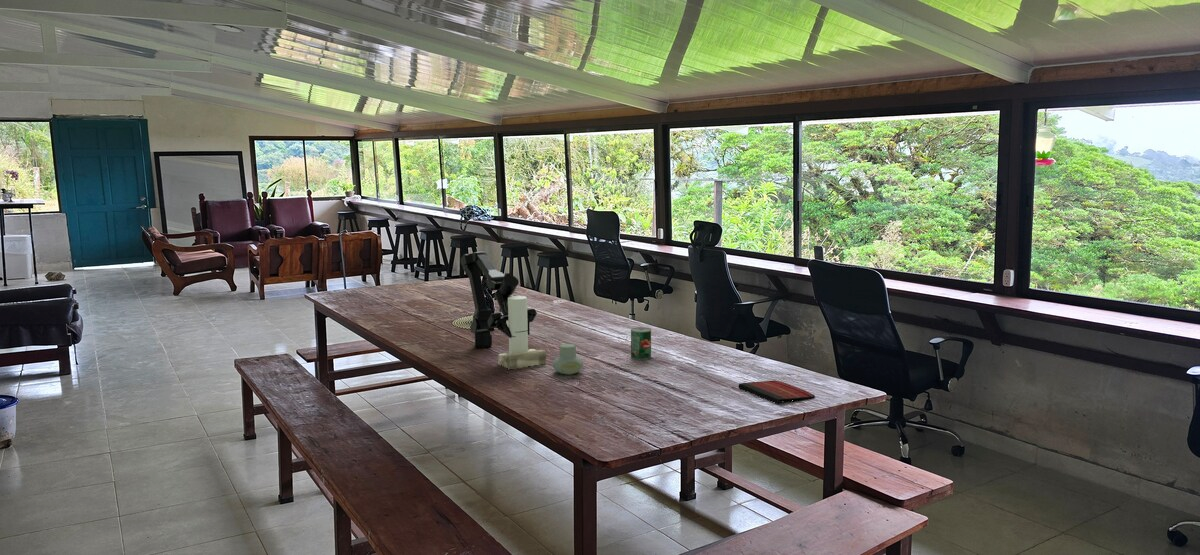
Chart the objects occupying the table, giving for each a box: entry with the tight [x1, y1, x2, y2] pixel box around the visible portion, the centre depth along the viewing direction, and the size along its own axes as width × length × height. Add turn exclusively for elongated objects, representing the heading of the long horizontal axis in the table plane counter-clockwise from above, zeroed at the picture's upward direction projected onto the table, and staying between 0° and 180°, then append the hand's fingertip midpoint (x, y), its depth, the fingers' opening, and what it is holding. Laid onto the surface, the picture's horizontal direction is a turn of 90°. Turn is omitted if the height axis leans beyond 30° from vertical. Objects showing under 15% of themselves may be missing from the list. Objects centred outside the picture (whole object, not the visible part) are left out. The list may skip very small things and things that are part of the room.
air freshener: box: [552, 343, 584, 376], centre depth 295 cm, size 11×8×10 cm
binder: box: [738, 380, 816, 405], centre depth 269 cm, size 16×2×21 cm
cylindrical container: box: [507, 295, 529, 354], centre depth 308 cm, size 7×7×25 cm
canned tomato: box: [630, 326, 652, 360], centre depth 316 cm, size 8×8×11 cm
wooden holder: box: [497, 348, 547, 370], centre depth 308 cm, size 10×15×5 cm, turn 123°
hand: (519, 336), depth 308 cm, fingers closed on cylindrical container, 7 cm apart
